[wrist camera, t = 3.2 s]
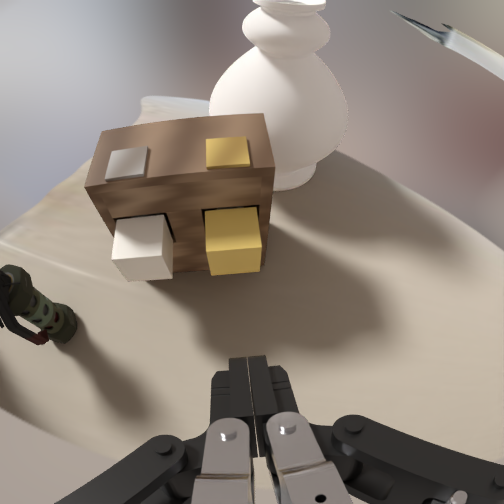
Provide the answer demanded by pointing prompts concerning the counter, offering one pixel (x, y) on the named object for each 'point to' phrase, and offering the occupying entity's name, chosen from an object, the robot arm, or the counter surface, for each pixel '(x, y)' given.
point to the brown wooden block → (184, 176)
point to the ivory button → (143, 248)
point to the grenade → (32, 309)
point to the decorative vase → (287, 87)
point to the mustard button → (233, 240)
